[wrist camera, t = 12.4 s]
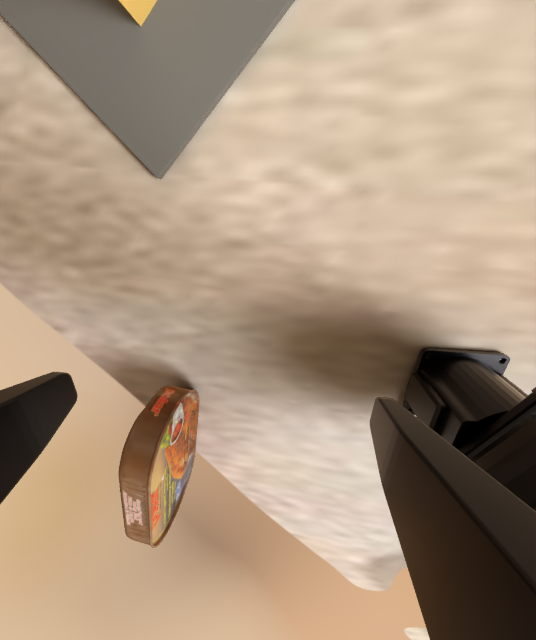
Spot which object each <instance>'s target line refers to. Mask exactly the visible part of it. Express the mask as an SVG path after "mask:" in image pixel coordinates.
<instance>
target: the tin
mask: <svg viewBox="0 0 536 640" xmlns="http://www.w3.org/2000/svg"><path fill="white" fill-rule="evenodd" d="M198 411H199V396H198V393H197V391H196V390H188V389H184V388H180V387H176V386H165V387H163V388H161V389H160V391H159V392H158V393H157V394H156V395H155V396H154V397H153V398H152V399H151V401H150V402H149V403H148V404H147V406H146V407H145V409H144V410H143V411H142V412H141V413H140V415H139V416H138V417H137V419H136V420H135V422H134V424H133V426H132V428H131V430H130V432H129V435H128V437H127V440H126V442H125V445H124V448H123V452H122V456H121V461H120V466H119V482H120V492H121V500H122V508H123V518H124V526H125V532H126V535H127V537H129V538H130V539H132V540H135V541H138V542H141V543H145V544H148V545H150V546H151V547H152V548H156V547H157V546H158V545H159V544H160V543H161V542H162V541H163V539H164V537H165V536H166V534H167V532H168V530H169V528H170V527H171V524H172V522H173V520H174V518H175V516H176V514H177V511H178V509H179V506H180V504H181V501H182V499H183V496H184V493H185V490H186V487H187V484H188V481H189V478H190V475H191V471H192V467H193V463H194V457H195V447H196V435H197V423H198Z"/></svg>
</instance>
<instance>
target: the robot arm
mask: <svg viewBox="0 0 536 640" xmlns="http://www.w3.org/2000/svg"><path fill="white" fill-rule="evenodd" d="M428 353H430V354H429V355H428V356H426V354H428ZM500 359H501V360H500ZM499 360H500V361H499ZM509 361H510V358H509V357H508V356H507V355H505V354H504V353H498V352H483V351H468V350H453V349H438V348H425V349H423V350H421V352H420V354H419V357H418V360H417V363H416V367H415V370H414V372H413V373H412V374H411V377H410V381H409V384H408V387H407V390H406V393H405V401H404V404H403V406H402V405H400V404H399V403H398V402H397V401H395V400H394V399H392V398H385V397H378V398H376V400H375V403H374V406H373V410H372V414H371V418H370V429H371V434H372V439H373V444H374V449H375V454H376V459H377V463H378V468H379V473H380V478H381V482H382V486H383V490H384V493H385V497H386V500H387V503H388V506H389V509H390V513H391V516H392V519H393V522H394V525H395V529H396V532H397V535H398V538H399V541H400V545H401V548H402V551H403V554H404V557H405V561H406V564H407V567H408V570H409V573H410V577H411V580H412V583H413V586H414V589H415V593H416V596H417V599H418V602H419V605H420V608H421V612H422V615H423V618H424V621H425V624H426V628H427V631H428V634H429V638H430V640H536V387H535V388H534V389H533V390H531V391H532V393H531V394H530V395H527V394H526V393H524V392H523V391H522V390H521V389H519V388H518V387H517V386H516V385H514V384H513V383H512V382H511V381H509V380H508V379H507V378H506V377H504V376H503V374H504V371H505V369H506V367H507V365H508V363H509ZM76 401H77V392H76V389H75V386H74V383H73V380H72V378H71V376H70V375H69V374H68V373H63V372H52V373H49V374H46V375H43V376H40V377H37V378H34V379H31V380H29V381H26V382H23V383H20V384H17V385H14V386H12V387H9V388H6V389H3V390H0V504H1V503H2V502H3V500H4V499H5V498H6V497H7V495H8V494H9V493H10V491H11V490H12V489H13V488H14V487H15V485H16V484H17V483H18V481H19V480H20V479H21V478H22V477H23V475H24V474H25V473H26V472H27V470H28V469H29V468H30V467H31V465H32V464H33V463H34V462H35V460H36V459H37V458H38V456H39V455H40V454H41V452H42V451H43V450H44V448H45V447H46V446H47V444H48V443H49V441H50V440H51V438H52V437H53V435H54V434H55V433H56V431H57V429H58V428H59V427H60V425H61V424H62V422H63V421H64V419H65V418H66V416H67V415H68V413H69V412H70V410H71V409H72V407H73V406H74V404H75V403H76ZM408 408H410V409H408ZM414 415H416V416H414Z"/></svg>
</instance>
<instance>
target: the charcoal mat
mask: <svg viewBox="0 0 536 640" xmlns="http://www.w3.org/2000/svg"><path fill="white" fill-rule="evenodd" d="M294 1H295V0H157V2H156V3H155V5H154V6H153V8H152V10H151V11H150V13H149V15H148V16H147V18H146V19H145V21H144V23H143V24H142V26H140V25H139V24H138V23H137V22H136V20H135V19H134V18H133V17H132V16H131V14H130V13H129V12H128V11H127V10H126V8H125V7H124V6H123V5H122V4H121V2H120V1H119V0H0V14H1V15H2V17H3V18H4V19H5V20H6V21H7V22H8V23H9V24H10V25H11V26H12V27H13V28H14V29H15V30H16V31H17V32H18V33H19V34H20V35H21V36H22V37H23V39H24V40H25V41H26V42H27V43H28V44H29V45H30V46H31V47H32V48H33V49H34V50H35V51H36V52H37V53H38V54H39V55H40V56H41V57H42V58H43V59H44V60H45V62H46V63H47V64H48V65H49V66H50V67H51V68H52V69H53V70H54V71H55V72H56V73H57V74H58V75H59V76H60V77H61V78H62V79H63V80H64V81H65V82H66V83H67V85H68V86H69V87H70V88H71V89H72V90H73V91H74V92H75V93H76V94H77V95H78V96H79V97H80V98H81V99H82V100H83V101H84V102H85V103H86V104H87V105H88V107H89V108H90V109H91V110H92V111H93V112H94V113H95V114H96V115H97V116H98V117H99V118H100V119H101V120H102V121H103V122H104V123H105V124H106V125H107V126H108V127H109V128H110V130H111V131H112V132H113V133H114V134H115V135H116V136H117V137H118V138H119V139H120V140H121V141H122V142H123V143H124V144H125V145H126V146H127V147H128V148H129V149H130V150H131V152H132V153H133V154H134V155H135V156H136V157H137V158H138V159H139V160H140V161H141V162H142V163H143V164H144V165H145V166H146V167H147V168H148V169H149V170H150V171H151V172H152V173H153V175H154V176H155V177H156V178H159V179H161V178H162V177H163V176H164V174H165V173H166V172H167V170H168V169H169V168H170V166H171V165H172V164H173V162H174V161H175V160H176V158H177V157H178V156H179V154H180V153H181V152H182V150H183V149H184V148H185V146H186V145H187V144H188V142H189V141H190V140H191V138H192V137H193V136H194V134H195V133H196V132H197V130H198V129H199V128H200V126H201V125H202V124H203V122H204V121H205V120H206V118H207V117H208V116H209V114H210V113H211V112H212V110H213V109H214V108H215V106H216V105H217V104H218V102H219V101H220V100H221V98H222V97H223V96H224V94H225V93H226V92H227V90H228V89H229V88H230V86H231V85H232V84H233V82H234V81H235V80H236V78H237V77H238V76H239V74H240V73H241V72H242V70H243V69H244V68H245V66H246V65H247V64H248V62H249V61H250V60H251V58H252V57H253V56H254V54H255V53H256V52H257V50H258V49H259V48H260V46H261V45H262V44H263V42H264V41H265V40H266V38H267V37H268V36H269V34H270V33H271V32H272V30H273V29H274V28H275V26H276V25H277V24H278V22H279V21H280V20H281V18H282V17H283V16H284V14H285V13H286V12H287V10H288V9H289V8H290V6H291V5H292V4H293V2H294Z"/></svg>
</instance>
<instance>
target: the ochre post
mask: <svg viewBox="0 0 536 640" xmlns="http://www.w3.org/2000/svg"><path fill="white" fill-rule="evenodd" d="M119 1H120V2H121V4H122V5H123V6H124V7H125V8H126V10H127V11H128V12H129V13H130V14H131V16H132V17H133V18H134V19H135V20H136V22H137V23H138V24H139V25H140V26H142V24H143V23H144V21H145V19H146V18H147V16H148V15H149V13H150V11H151V10H152V8H153V6H154V5H155V3H156V2H157V0H119Z"/></svg>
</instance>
